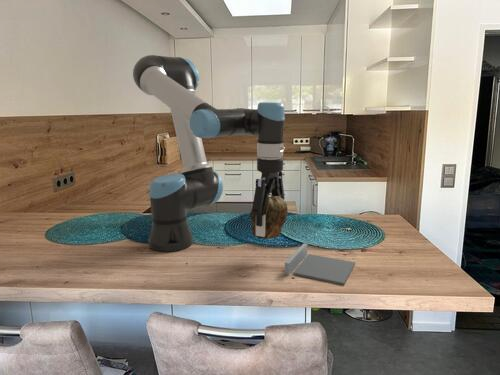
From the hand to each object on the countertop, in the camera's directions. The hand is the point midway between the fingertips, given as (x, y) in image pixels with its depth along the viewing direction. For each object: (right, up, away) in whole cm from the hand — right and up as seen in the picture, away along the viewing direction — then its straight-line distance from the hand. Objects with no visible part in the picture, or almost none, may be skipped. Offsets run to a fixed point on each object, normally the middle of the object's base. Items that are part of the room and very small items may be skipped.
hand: (268, 229), depth 108 cm
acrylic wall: (+8, -10, -2) cm, 13 cm away
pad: (+16, -11, -6) cm, 20 cm away
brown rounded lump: (0, -2, 0) cm, 2 cm away
